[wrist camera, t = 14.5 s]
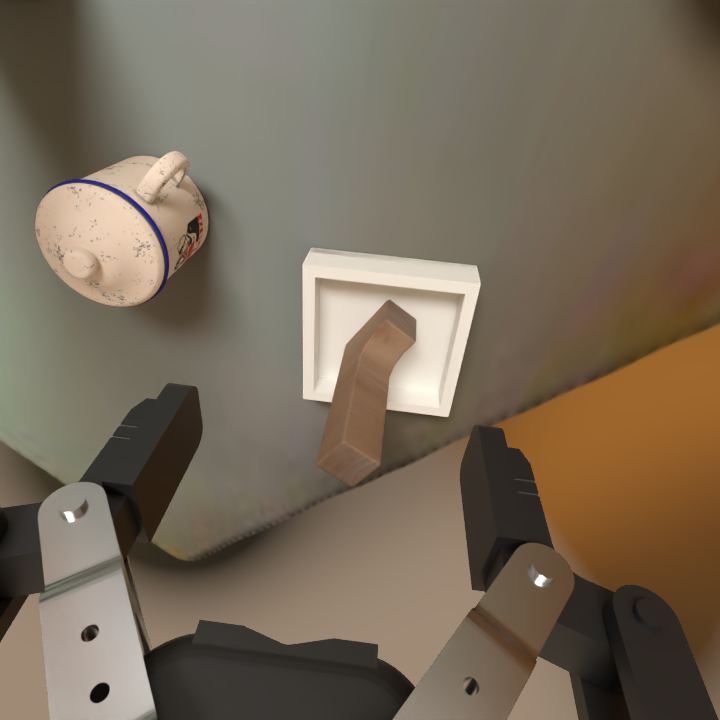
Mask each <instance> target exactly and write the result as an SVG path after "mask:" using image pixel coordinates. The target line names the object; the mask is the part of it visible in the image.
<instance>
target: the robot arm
mask: <svg viewBox="0 0 720 720" xmlns="http://www.w3.org/2000/svg"><path fill="white" fill-rule="evenodd" d="M202 430H203V424H202V417H201V409H200V402H199V395H198V390H197V388H196V387H195V386H188V385H181V384H173V383H168V384H167V385H166V386H165V387H164V389H163V390H162V392H161V393H160V395H159V396H158V398H157V399H149V398H147V399H145V400H144V401H143V402H141V403H140V404H138V405H137V406H135V407H134V408H133V409H131V410H130V412H129V413H128V414H127V416H126V417H125V419H124V420H123V421H122V423H121V426H119V427H118V428H117V430H116V431H115V432H114V434H113V437H112V438H110V439H109V441H108V442H107V443H106V445H105V446H104V448H103V449H102V450H101V452H100V453H99V455H98V456H97V457H96V459H95V460H94V461H93V463H92V464H91V466H90V467H89V468H88V470H87V471H86V472H85V474H84V475H83V477H82V478H81V479H80V481H79V482H78V483H73V484H69V485H67V486H64V487H62V488H60V489H58V490H57V491H55V492H54V493H52V494H51V495H50V496H49V497H48V498H47V499H46V500H45V501H44V502H41V503H35V504H28V505H21V506H14V507H6V508H1V507H0V642H1V640H2V638H3V637H4V635H5V633H6V631H7V630H8V628H9V627H10V625H11V624H12V622H13V620H14V619H15V617H16V615H17V614H18V612H19V610H20V608H21V607H22V605H23V603H24V602H25V600H26V599H27V597H28V595H29V594H34V593H40V592H41V593H40V596H39V608H40V619H41V630H42V640H43V651H44V660H45V661H44V662H45V672H46V683H47V694H48V704H49V715H50V720H507V718H508V716H509V714H510V712H511V711H512V709H513V707H514V705H515V703H516V701H517V699H518V697H519V695H520V694H521V692H522V690H523V688H524V686H525V684H526V682H527V680H528V679H529V677H530V675H531V673H532V671H533V669H534V667H535V664H536V659H537V657H538V656H539V657H541V658H543V659H545V660H547V661H549V662H551V663H553V664H555V665H557V666H559V667H561V668H563V669H565V670H567V671H569V673H570V678H571V683H572V688H573V693H574V699H575V704H576V709H577V714H578V719H579V720H718V717H717V715H716V713H715V710H714V708H713V705H712V702H711V700H710V697H709V695H708V692H707V690H706V687H705V685H704V682H703V680H702V677H701V675H700V672H699V670H698V667H697V665H696V662H695V660H694V657H693V654H692V652H691V649H690V647H689V644H688V642H687V639H686V637H685V634H684V632H683V629H682V627H681V624H680V622H679V620H678V618H677V616H676V614H675V613H674V611H673V610H672V609H671V607H670V606H669V605H668V604H667V603H666V602H665V601H664V600H663V599H662V598H660V597H659V596H657V595H656V594H655V593H653V592H652V591H650V590H648V589H646V588H643V587H640V586H636V585H625V586H622V587H620V588H619V589H618V590H617V591H616V592H612V591H610V590H608V589H606V588H603V587H601V586H599V585H596V584H594V583H592V582H590V581H587V580H585V579H583V578H581V577H580V576H578V575H576V574H575V573H574V572H572V570H571V568H570V566H569V564H568V563H567V562H566V560H565V559H564V558H563V557H562V556H561V555H560V554H559V553H557V552H556V551H555V550H554V547H553V545H552V542H551V538H550V534H549V530H548V527H547V523H546V519H545V516H544V512H543V509H542V505H541V501H540V497H538V490H537V487H536V484H535V483H534V481H535V479H534V476H533V472H532V468H531V465H530V463H529V462H528V460H527V459H526V458H525V457H524V455H523V454H522V452H521V451H520V450H519V449H515V448H508V447H507V444H506V439H505V435H504V431H503V429H502V428H496V427H489V426H481V425H475V426H474V427H473V430H472V433H471V436H470V439H469V442H468V445H467V448H466V450H465V453H464V457H463V459H462V463H461V470H460V485H461V494H462V503H463V511H464V521H465V530H466V539H467V548H468V556H469V566H470V574H471V584H472V590H479V591H485V594H484V596H483V598H482V599H481V600H480V602H479V603H478V604H477V606H476V607H475V608H473V609H472V610H471V611H470V612H469V613H468V615H467V616H466V617H465V619H464V620H463V621H462V623H461V624H460V626H459V627H458V628H457V630H456V631H455V633H454V634H453V635H452V637H451V638H450V640H449V641H448V642H447V644H446V645H445V647H444V648H443V650H442V651H441V652H440V654H439V655H438V657H437V658H436V659H435V661H434V662H433V664H432V665H431V666H430V668H429V669H428V671H427V672H426V673H425V675H424V676H423V678H422V679H421V680H420V682H419V683H418V685H417V686H416V687H414V685H413V684H412V683H411V682H410V681H409V680H408V679H407V678H406V677H405V676H404V675H403V674H402V673H401V672H400V671H398V670H397V669H396V668H395V667H393V666H391V665H390V664H388V663H387V662H385V661H383V660H380V659H378V658H377V653H378V645H377V644H370V643H363V642H356V641H348V640H341V639H327V640H320V641H313V642H307V643H299V644H293V645H285V644H282V643H280V642H278V641H275V640H273V639H271V638H269V637H266V636H264V635H262V634H260V633H258V632H256V631H254V630H251V629H249V628H247V627H245V626H241V625H233V624H226V623H218V622H211V621H205V620H200V621H199V624H198V627H197V630H196V633H195V634H188V635H185V636H181V637H178V638H175V639H173V640H170V641H168V642H165V643H163V644H162V645H160V646H158V647H156V648H154V649H152V645H151V642H150V638H149V635H148V632H147V629H146V625H145V622H144V618H143V614H142V610H141V606H140V602H139V599H138V594H137V590H136V586H135V583H134V579H133V575H132V571H131V567H130V563H129V559H128V556H127V555H128V553H129V551H130V549H131V548H132V546H133V544H134V542H139V543H146V544H150V542H151V540H152V538H153V536H154V534H155V532H156V530H157V528H158V526H159V524H160V522H161V520H162V518H163V516H164V514H165V512H166V510H167V508H168V506H169V504H170V502H171V500H172V498H173V496H174V494H175V492H176V490H177V488H178V486H179V484H180V482H181V480H182V478H183V476H184V474H185V472H186V470H187V468H188V466H189V464H190V462H191V460H192V458H193V456H194V454H195V452H196V450H197V448H198V446H199V444H200V441H201V437H202Z"/></svg>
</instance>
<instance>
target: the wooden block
mask: <svg viewBox="0 0 720 720" xmlns="http://www.w3.org/2000/svg"><path fill="white" fill-rule="evenodd" d="M415 342H416V319H415V318H414V317H413V316H411V315H410V314H409V313H407V312H406V311H405V310H403V309H402V308H401V307H399V306H398V305H397V304H395V303H394V302H393V301H391V300H387V301H386V302H385V303H384V304H383V305H382V306H381V308H380V309H379V310H378V311H377V312H376V313H375V314H374V315H373V316H372V317H371V318H370V319H369V320H368V321H367V322H366V324H365V325H364V326H363V327H362V328H361V329H360V330H359V331H358V332H357V333H356V334H355V335H354V336H353V337H352V339H351V340H350V341H349V342H348V343H347V344H346V346H345V350H344V354H343V358H342V362H341V366H340V370H339V374H338V378H337V382H336V386H335V390H334V394H333V398H332V402H331V406H330V410H329V414H328V418H327V423H326V427H325V431H324V435H323V439H322V443H321V447H320V451H319V455H318V459H317V463H316V465H317V466H318V467H319V468H321V469H322V470H324V471H326V472H328V473H329V474H331V475H333V476H334V477H336V478H338V479H339V480H341V481H343V482H345V483H346V484H348V485H350V486H355V485H356V484H357V483H359V482H360V481H361V480H362V479H364V478H365V477H366V476H368V475H369V474H370V473H371V472H373V471H374V470H375V469H376V468H378V467H379V466H380V464H381V457H382V447H383V437H384V427H385V417H386V407H387V397H388V386H389V378H390V375H391V373H392V370H393V368H394V366H395V364H396V363H397V362H398V360H399V359H400V358H401V356H402V355H403V354H404V352H406V351H407V350H408V349H409V348H410V347H411V346H412V345H413V344H414V343H415Z"/></svg>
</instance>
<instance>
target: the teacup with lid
mask: <svg viewBox="0 0 720 720" xmlns="http://www.w3.org/2000/svg"><path fill="white" fill-rule="evenodd" d="M188 169H189V161H188V159H187V158H186V157H185V156H184V155H182V154H181V153H180V152H178V151H173V152H169V153H167V154H166V155H164V156H163V157H162V158H156V157H152V156H135V157H130V158H127V159H125V160H123V161H120V162H118V163H116V164H114V165H111V166H109V167H107V168H105V169H102V170H100V171H98V172H95V173H93V174H91V175H89V176H86V177H84V178H82V179H74V180H68V181H65V182H62V183H60V184H57V185H56V186H54V187H53V188H51V189H50V190H49V191H48V192H47V193H46V195H45V196H44V197H43V199H42V201H41V202H40V204H39V207H38V209H37V213H36V220H35V229H36V236H37V240H38V243H39V246H40V248H41V251H42V253H43V255H44V257H45V259H46V260H47V262H48V263H49V265H50V266H51V268H52V269H53V270H54V271H55V273H56V274H57V275H58V276H59V277H60V278H61V279H62V280H63V281H64V282H65V283H66V284H67V285H69V286H70V287H71V288H73V289H74V290H75V291H77V292H78V293H80V294H82V295H83V296H85V297H87V298H89V299H91V300H94V301H96V302H99V303H102V304H106V305H111V306H133V305H138V304H141V303H144V302H147V301H149V300H150V299H152V298H154V297H155V296H156V295H157V294H158V293H159V292H160V291H161V290H162V288H163V287H164V285H165V283H166V280H167V279H168V278H169V277H170V276H171V275H172V274H174V273H175V272H176V271H177V270H178V269H179V268H180V267H181V266H182V265H183V264H184V263H185V262H186V261H187V260H188V259H189V258H190V257H191V256H192V255H193V254H194V253H195V252H196V251H197V250H198V249H199V248H200V247H201V245H202V244H203V242H204V240H205V238H206V235H207V231H208V212H207V208H206V205H205V202H204V199H203V197H202V195H201V193H200V191H199V190H198V188H197V187H196V185H195V184H194V183H193V181H192V180H191V179H190V178H189V177H188V176H187V175H186V174H187V172H188Z"/></svg>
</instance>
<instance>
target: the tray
mask: <svg viewBox="0 0 720 720" xmlns="http://www.w3.org/2000/svg"><path fill="white" fill-rule="evenodd" d="M480 285H481V283H480V278H479V274H478V269H477V265H467V264H458V263H449V262H440V261H431V260H422V259H413V258H404V257H395V256H386V255H377V254H367V253H358V252H349V251H340V250H331V249H322V248H313V247H311V249H310V251H309V253H308V255H307V257H306V259H305V261H304V263H303V399H309V400H317V401H325V402H332V398H333V394H334V390H335V386H336V382H337V378H338V374H339V370H340V366H341V362H342V358H343V354H344V350H345V346H346V344H347V343H348V342H349V341H350V340H351V339H352V337H353V336H354V335H355V334H356V333H357V332H358V331H359V330H360V329H361V328H362V327H363V326H364V325H365V324H366V322H367V321H368V320H369V319H370V318H371V317H372V316H373V315H374V314H375V313H376V312H377V311H378V310H379V309H380V308H381V306H382V305H383V304H384V303H385V302H386V301H387V300H391V301H393V302H394V303H395V304H397V305H398V306H399V307H401V308H402V309H403V310H405V311H406V312H407V313H409V314H410V315H411V316H413V317H414V318H415V319H416V342H415V343H414V344H413V345H412V346H411V347H410V348H409V349H408V350H407V351H406V352H404V354H403V355H402V356H401V358H400V359H399V360H398V362H397V363H396V364H395V366H394V368H393V370H392V373H391V375H390V378H389V386H388V397H387V407H386V409H388V410H396V411H404V412H412V413H419V414H427V415H435V416H443V417H448V416H449V412H450V408H451V404H452V400H453V396H454V392H455V388H456V384H457V380H458V376H459V371H460V367H461V363H462V359H463V355H464V351H465V347H466V343H467V339H468V335H469V330H470V326H471V322H472V318H473V314H474V310H475V306H476V302H477V298H478V294H479V290H480Z"/></svg>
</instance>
